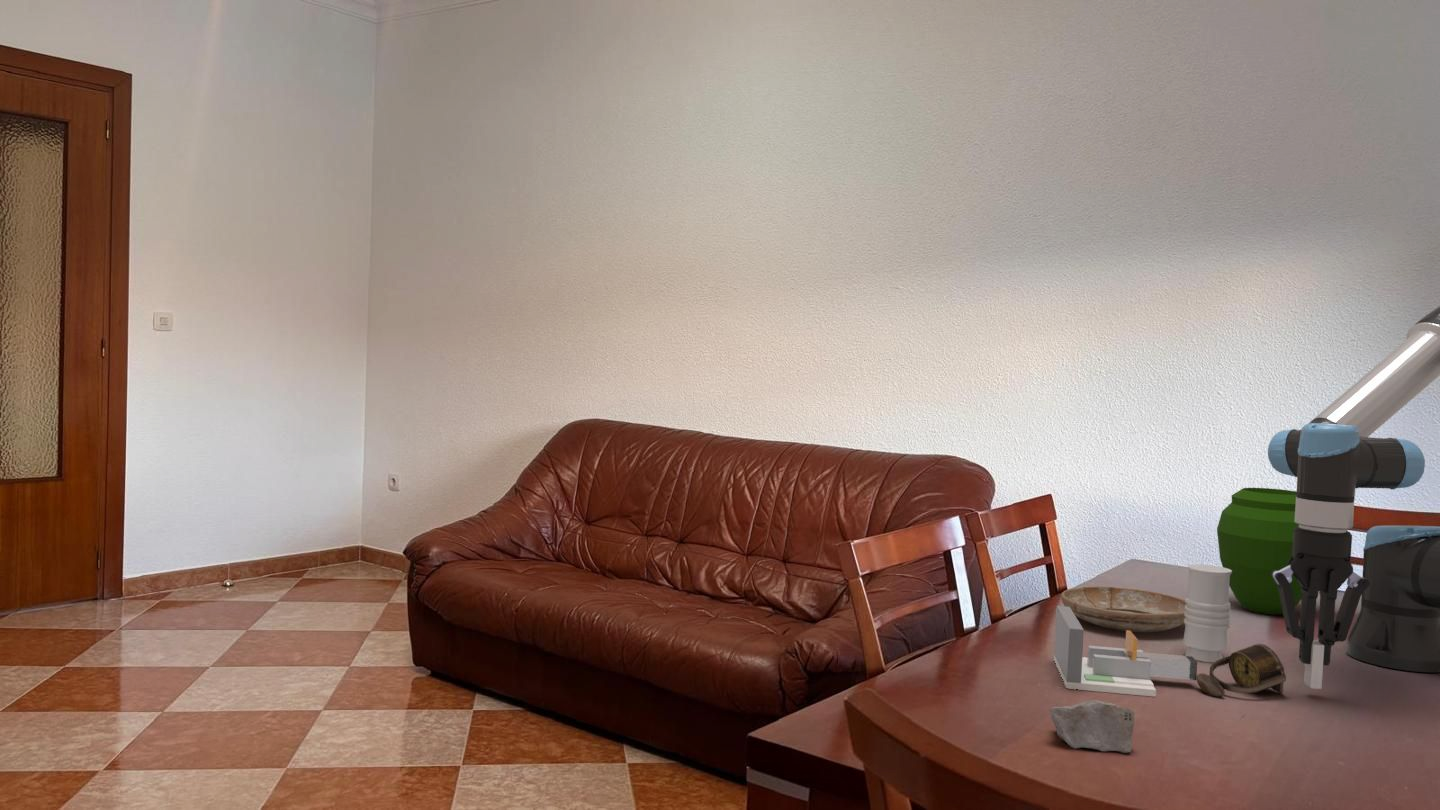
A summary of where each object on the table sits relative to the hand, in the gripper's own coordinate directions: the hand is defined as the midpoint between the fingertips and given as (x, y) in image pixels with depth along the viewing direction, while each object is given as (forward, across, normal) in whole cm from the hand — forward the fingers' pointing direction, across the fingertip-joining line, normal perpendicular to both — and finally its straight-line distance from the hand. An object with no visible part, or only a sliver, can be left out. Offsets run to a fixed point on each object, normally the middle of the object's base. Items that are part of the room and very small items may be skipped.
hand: (1312, 685), depth 156 cm
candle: (+2, +10, -18) cm, 21 cm away
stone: (+2, +36, +30) cm, 47 cm away
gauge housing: (+2, +30, 0) cm, 30 cm away
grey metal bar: (0, +22, +1) cm, 22 cm away
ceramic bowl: (+2, +19, -38) cm, 43 cm away
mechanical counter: (+2, +10, 0) cm, 11 cm away
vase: (+2, -12, -60) cm, 61 cm away
